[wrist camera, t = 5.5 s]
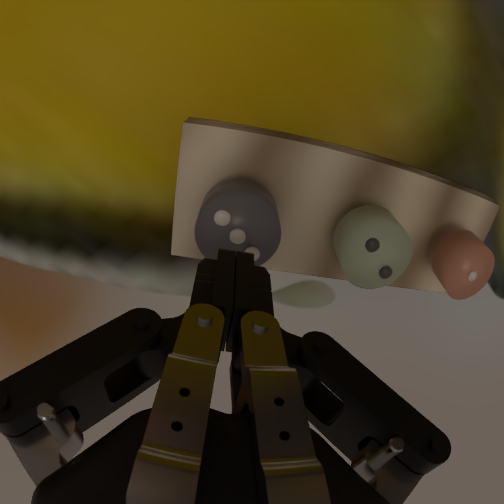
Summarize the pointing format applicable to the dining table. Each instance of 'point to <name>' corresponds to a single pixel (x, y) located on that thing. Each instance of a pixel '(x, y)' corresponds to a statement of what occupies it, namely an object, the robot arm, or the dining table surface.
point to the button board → (322, 196)
